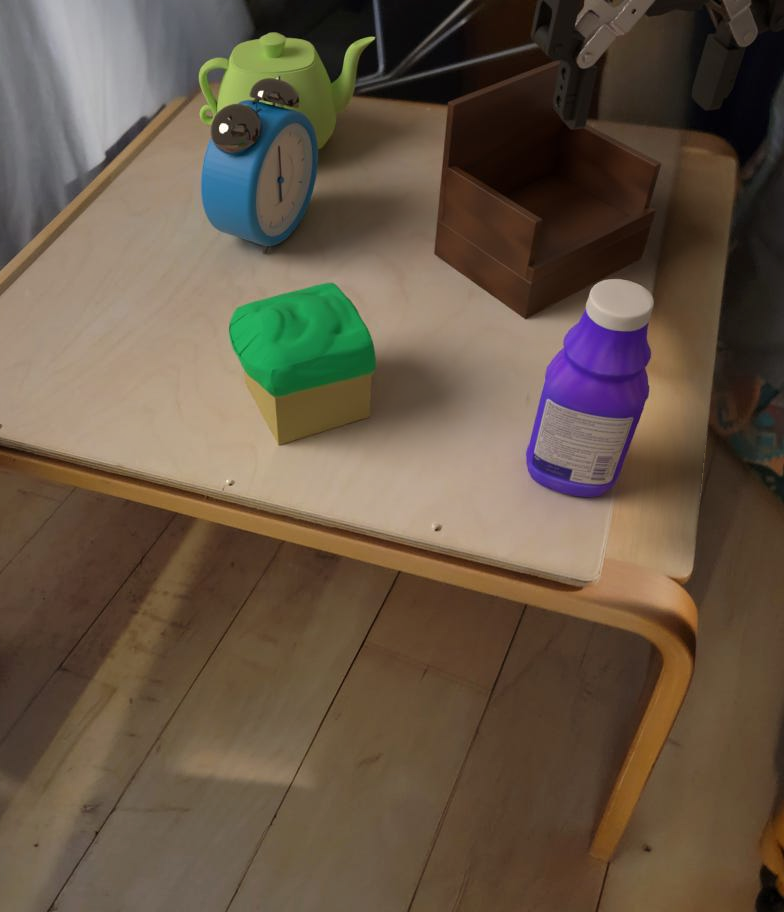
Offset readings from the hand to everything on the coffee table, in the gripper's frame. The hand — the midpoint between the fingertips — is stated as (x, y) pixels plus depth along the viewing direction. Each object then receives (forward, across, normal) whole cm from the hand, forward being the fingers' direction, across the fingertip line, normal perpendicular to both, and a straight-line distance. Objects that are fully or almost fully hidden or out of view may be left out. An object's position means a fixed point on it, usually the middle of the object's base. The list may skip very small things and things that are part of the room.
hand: (638, 113), depth 54 cm
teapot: (+28, -11, +52) cm, 60 cm away
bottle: (+28, 0, -4) cm, 28 cm away
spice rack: (+28, +8, +24) cm, 38 cm away
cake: (+28, -19, +10) cm, 35 cm away
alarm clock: (+28, -17, +35) cm, 48 cm away
